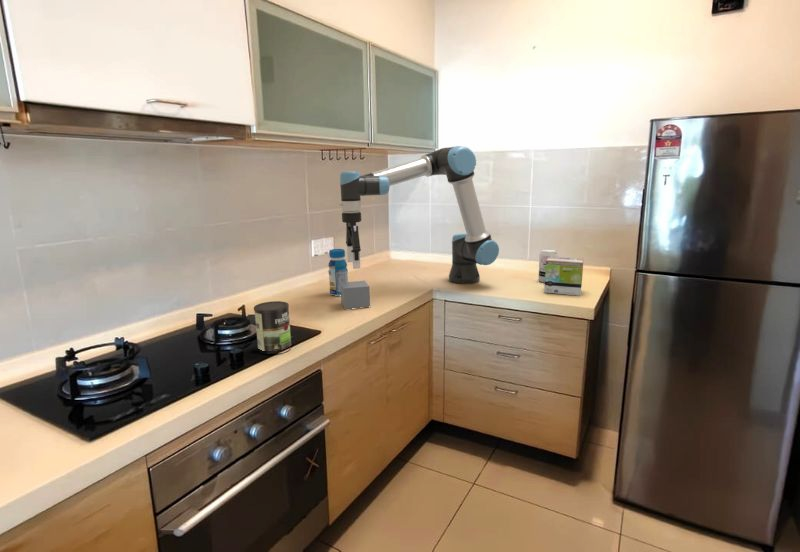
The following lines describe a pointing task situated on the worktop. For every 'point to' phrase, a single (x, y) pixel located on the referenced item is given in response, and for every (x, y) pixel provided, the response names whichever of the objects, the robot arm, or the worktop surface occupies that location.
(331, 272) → the beverage bottle
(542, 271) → the white carton
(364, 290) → the gray rectangular box
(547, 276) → the tea box
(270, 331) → the coffee can
